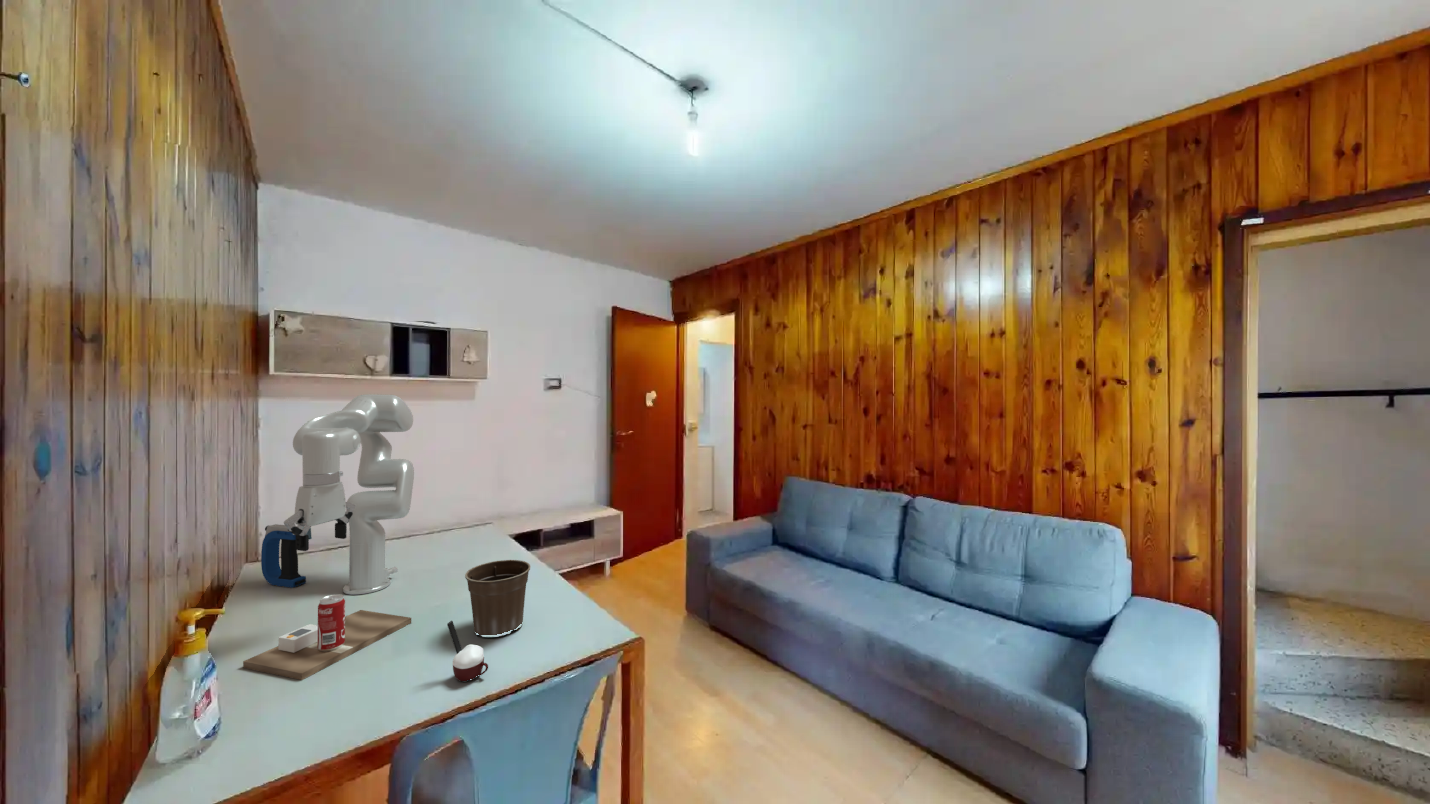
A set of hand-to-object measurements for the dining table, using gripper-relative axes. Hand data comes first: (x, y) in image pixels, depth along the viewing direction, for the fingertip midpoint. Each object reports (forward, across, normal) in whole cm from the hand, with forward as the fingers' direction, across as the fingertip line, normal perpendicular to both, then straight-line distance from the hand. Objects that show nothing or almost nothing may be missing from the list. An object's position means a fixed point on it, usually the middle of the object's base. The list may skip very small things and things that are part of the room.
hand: (322, 544), depth 125 cm
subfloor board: (+24, +3, +8) cm, 25 cm away
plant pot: (+24, -14, +42) cm, 50 cm away
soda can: (+22, +7, +11) cm, 26 cm away
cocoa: (+23, +7, +50) cm, 56 cm away
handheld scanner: (+26, -23, -46) cm, 58 cm away
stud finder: (+22, +8, +3) cm, 24 cm away
